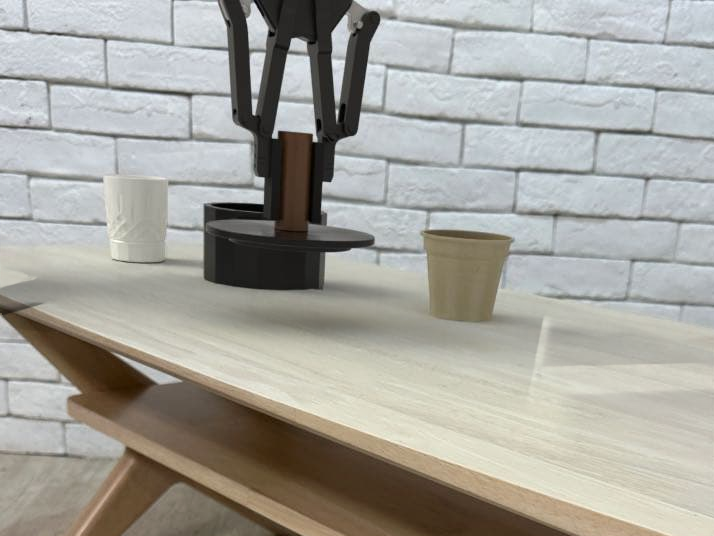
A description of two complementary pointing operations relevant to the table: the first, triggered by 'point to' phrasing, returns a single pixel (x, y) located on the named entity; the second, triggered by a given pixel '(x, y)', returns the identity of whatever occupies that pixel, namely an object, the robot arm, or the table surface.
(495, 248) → the flower pot
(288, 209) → the pot lid
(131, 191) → the white cup
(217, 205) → the pot
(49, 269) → the table surface
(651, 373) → the table surface
